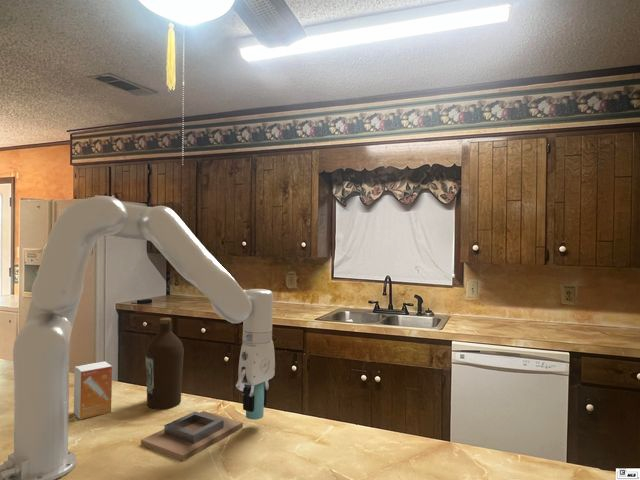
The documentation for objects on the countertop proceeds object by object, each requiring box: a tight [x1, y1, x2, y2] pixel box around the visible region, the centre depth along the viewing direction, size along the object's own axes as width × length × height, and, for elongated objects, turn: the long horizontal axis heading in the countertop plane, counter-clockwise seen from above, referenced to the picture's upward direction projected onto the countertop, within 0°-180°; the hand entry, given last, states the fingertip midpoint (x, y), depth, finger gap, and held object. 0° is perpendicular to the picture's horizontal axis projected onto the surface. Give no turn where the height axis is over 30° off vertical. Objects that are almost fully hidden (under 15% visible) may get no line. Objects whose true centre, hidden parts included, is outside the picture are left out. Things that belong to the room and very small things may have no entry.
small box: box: [73, 361, 113, 420], centre depth 119 cm, size 8×6×13 cm
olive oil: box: [144, 317, 185, 410], centre depth 126 cm, size 11×11×25 cm
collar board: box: [140, 410, 244, 462], centre depth 106 cm, size 20×14×3 cm
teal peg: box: [245, 382, 265, 420], centre depth 111 cm, size 4×4×9 cm
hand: (254, 406), depth 111 cm, fingers closed on teal peg, 4 cm apart
